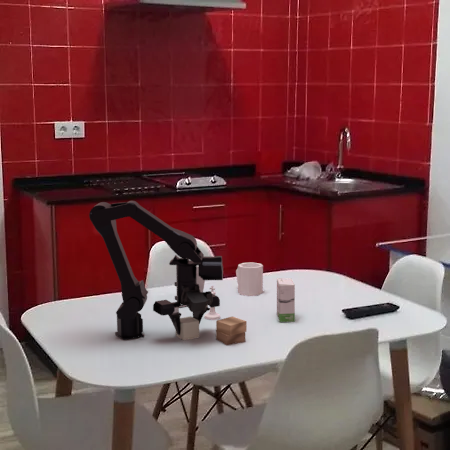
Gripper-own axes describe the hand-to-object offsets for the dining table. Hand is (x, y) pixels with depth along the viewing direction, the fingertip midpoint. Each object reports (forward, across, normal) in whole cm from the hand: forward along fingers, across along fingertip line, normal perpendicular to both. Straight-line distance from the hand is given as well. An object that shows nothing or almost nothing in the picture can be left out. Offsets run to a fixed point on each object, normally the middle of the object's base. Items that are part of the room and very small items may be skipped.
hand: (187, 332), depth 217 cm
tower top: (-2, +9, -9) cm, 13 cm away
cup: (+1, +20, +34) cm, 40 cm away
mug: (+1, +40, +32) cm, 51 cm away
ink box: (+1, +34, 0) cm, 34 cm away
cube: (+1, 0, 0) cm, 1 cm away
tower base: (+1, +9, -9) cm, 13 cm away
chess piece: (+1, +15, +12) cm, 19 cm away
